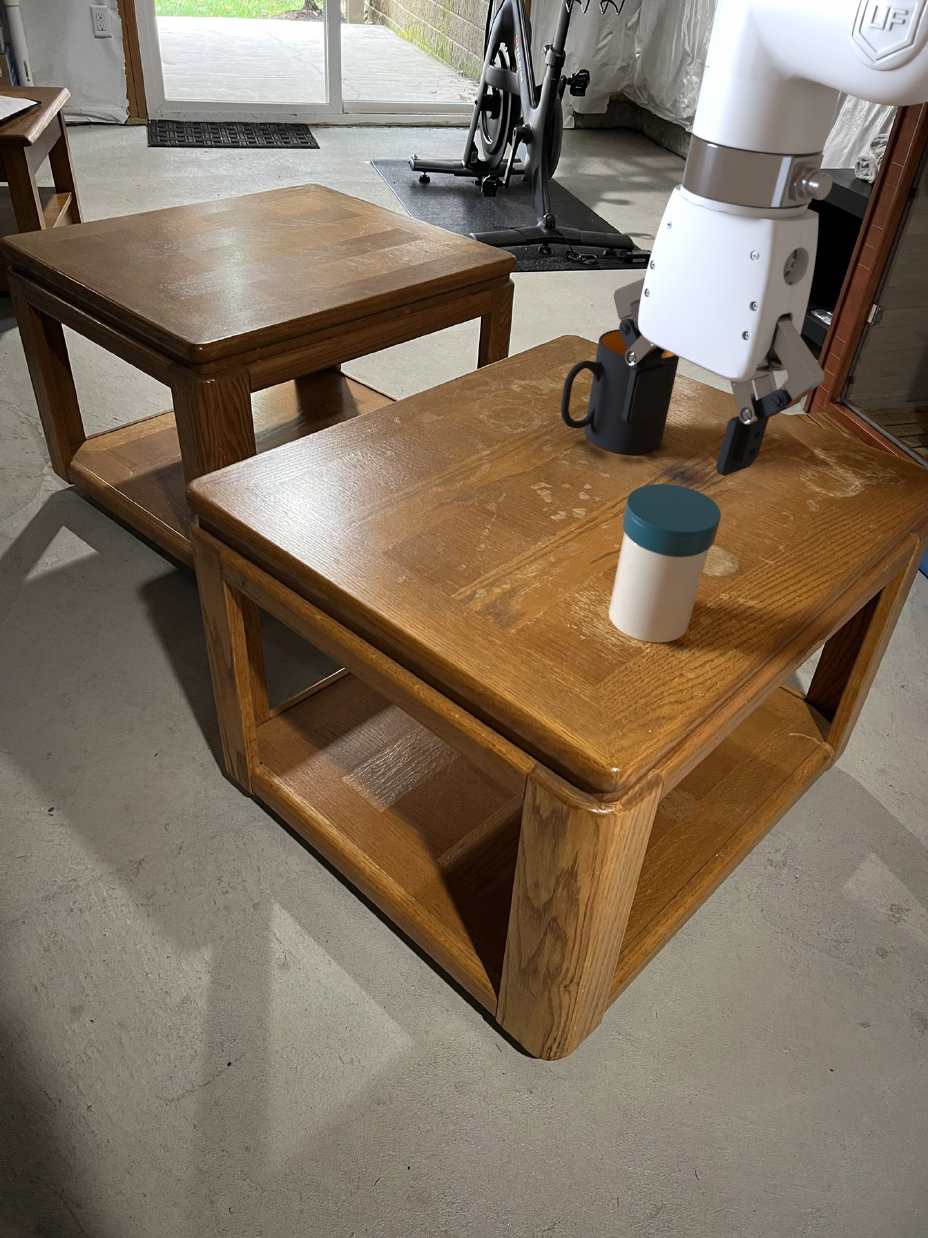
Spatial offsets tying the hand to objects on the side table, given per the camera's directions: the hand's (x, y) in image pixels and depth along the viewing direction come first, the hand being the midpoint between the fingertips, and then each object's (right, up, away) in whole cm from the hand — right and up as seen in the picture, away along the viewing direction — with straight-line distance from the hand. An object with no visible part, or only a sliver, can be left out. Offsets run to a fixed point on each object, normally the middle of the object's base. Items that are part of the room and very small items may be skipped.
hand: (684, 441), depth 66 cm
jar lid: (0, -5, +3) cm, 6 cm away
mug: (0, +7, +34) cm, 35 cm away
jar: (-1, -12, +9) cm, 15 cm away
